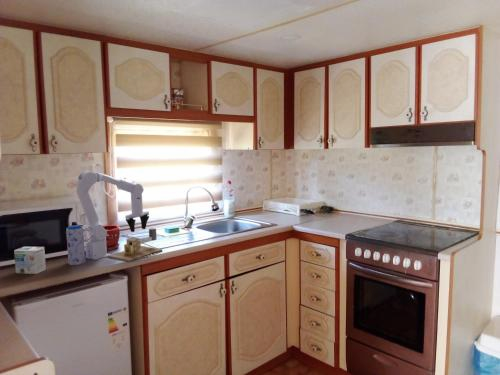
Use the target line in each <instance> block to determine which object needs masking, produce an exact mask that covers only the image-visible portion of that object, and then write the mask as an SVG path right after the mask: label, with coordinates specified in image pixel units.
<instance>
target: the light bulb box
mask: <svg viewBox="0 0 500 375" xmlns="http://www.w3.org/2000/svg"><path fill="white" fill-rule="evenodd" d="M13 252H14V262H15V263H14V266H15V273H16V274H26V275H27V274H29V275H37V274H39V273H42V272H43V271H46V270H47V267H46V253H45V246H22V247H19V248H17V249H14V250H13Z"/></svg>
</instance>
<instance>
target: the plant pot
mask: <svg viewBox="0 0 500 375" xmlns="http://www.w3.org/2000/svg"><path fill="white" fill-rule="evenodd" d="M102 226H103V228H104V229H105V230H106V231H107V236H106V248H107V251H112V250H116V249H117V248H119V246H120V243H119V240H120V234H121V233H120V226H119V225H115V224H108V225H102Z"/></svg>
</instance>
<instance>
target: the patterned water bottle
mask: <svg viewBox="0 0 500 375" xmlns="http://www.w3.org/2000/svg"><path fill="white" fill-rule="evenodd" d="M65 234H66V244H67V245H66V246H67V257H68V258H67V259H68V261H67V264H68V265H71V266H74V265H75V266H77V265H81V264H84V263H86V262H87V261H86V249H85V238H84V237H85V236H84V228H83V226H82V225H80V224H78V222H77V221H72V222H71V224H70V225H68V227H66V231H65Z"/></svg>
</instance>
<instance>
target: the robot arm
mask: <svg viewBox="0 0 500 375" xmlns="http://www.w3.org/2000/svg"><path fill="white" fill-rule="evenodd" d="M101 182H104V183H108V184H111V185H114V186H116V188H117V189H118V190H121V191H125V192H126V193H127V192H128V193H129V194H130V202H131V203H130V205H131V213H130V214H127V215H125V221H126V223H127V224H128V227H129V230H130V232H131V233H135V231H136V230H135V228H136V227H135V226H136V218H139V219H140V223H141V230H146V227H147V223H148V221H149V219H150V212H149V211H144V210H143V209H144V208H143V207H144V206H143V192H144V187H143V185H141V184H140V183H136V182H135V181H133V180H132V181H131V180H127V178H126V177H123V178H122V177H121V178H119V179H118V178H115V177H112V176H110V175H108V174H105V173H100V172H94V171H91V170H83V171H82V172H81V173H80V174H79V175H78V177H77V185H76V189H75V190H76V191H75V192H76V194H77V196H78V199H79V202H80V204H81V208H82V209H83V212H84V215H85V217H86V219H87V220H86V221H87V222H88V228H89V230H88V234H89V236H90V241H87V242H86V244H85V259H89V260H93V261H96V260H99V259H102V258H103V259H104V258H108V255H112V254H110V253H107V248H106V236H108V235H107V231H106V230H105V229H104V228H103V226H104V225H103V224H102V223H101V221H100V219H99V217H98V214H97V212H96V208H95V206H94V204H93V203H94V202H92V198H91V196H90V194H89V191H90V190H91V188H92V187H93V186H94V185H95V184H96V183H101Z"/></svg>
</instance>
